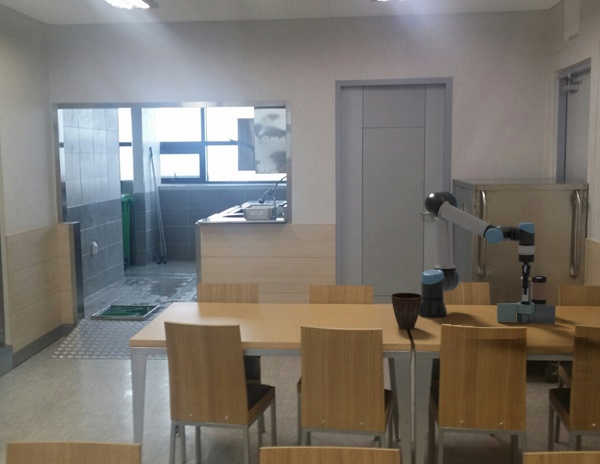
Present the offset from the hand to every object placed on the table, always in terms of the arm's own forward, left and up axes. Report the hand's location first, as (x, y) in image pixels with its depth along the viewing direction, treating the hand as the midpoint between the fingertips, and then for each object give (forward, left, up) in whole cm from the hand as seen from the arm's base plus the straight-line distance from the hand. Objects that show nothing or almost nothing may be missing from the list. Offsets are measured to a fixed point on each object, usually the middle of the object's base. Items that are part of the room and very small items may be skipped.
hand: (525, 300), depth 338 cm
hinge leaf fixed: (+5, 0, -11) cm, 12 cm away
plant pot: (-53, -31, -11) cm, 62 cm away
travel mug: (+5, +19, -11) cm, 23 cm away
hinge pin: (0, 0, -5) cm, 5 cm away
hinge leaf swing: (-5, -2, -11) cm, 12 cm away
